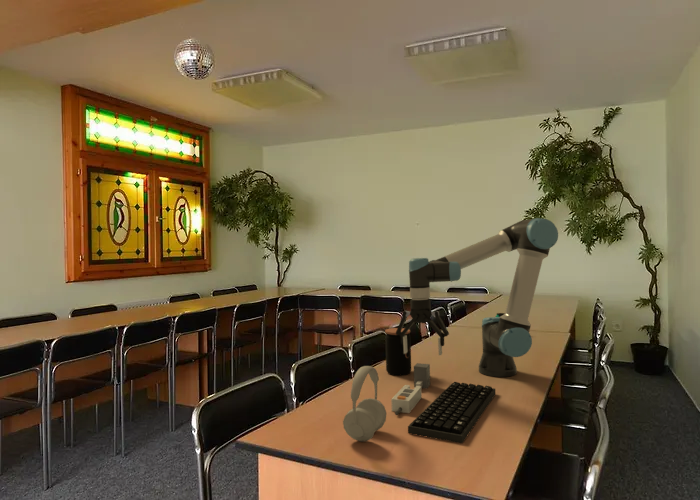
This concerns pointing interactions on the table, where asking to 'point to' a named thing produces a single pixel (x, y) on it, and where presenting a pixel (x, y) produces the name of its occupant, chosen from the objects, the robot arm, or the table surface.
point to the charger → (422, 375)
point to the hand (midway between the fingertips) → (422, 353)
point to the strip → (406, 399)
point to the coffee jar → (397, 353)
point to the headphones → (364, 409)
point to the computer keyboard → (453, 412)
